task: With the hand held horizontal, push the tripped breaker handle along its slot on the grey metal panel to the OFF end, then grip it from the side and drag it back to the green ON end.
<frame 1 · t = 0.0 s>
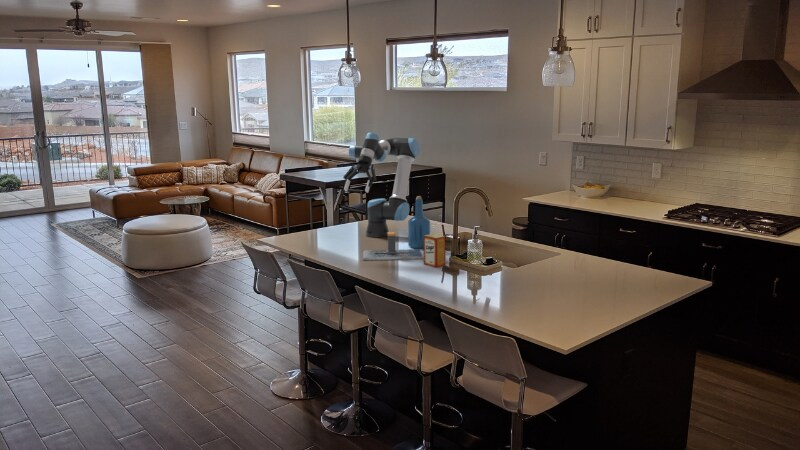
hand: (355, 191, 354), 36 cm above the countertop, tool tilted 35°, fingers open, 13 cm apart
baking soda box: (434, 265, 336), on the countertop
breaker handle: (391, 242, 354), point 8 cm above the countertop, slide at 6.0 cm
panel: (391, 255, 355), on the countertop
wine bottle: (419, 246, 377), on the countertop
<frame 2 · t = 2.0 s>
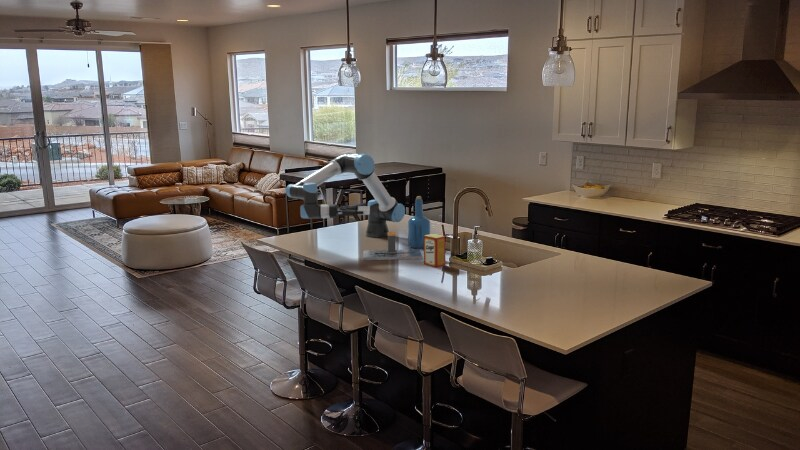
hand: (369, 210, 350), 26 cm above the countertop, tool horizontal, fingers open, 10 cm apart
nothing on the countertop moved.
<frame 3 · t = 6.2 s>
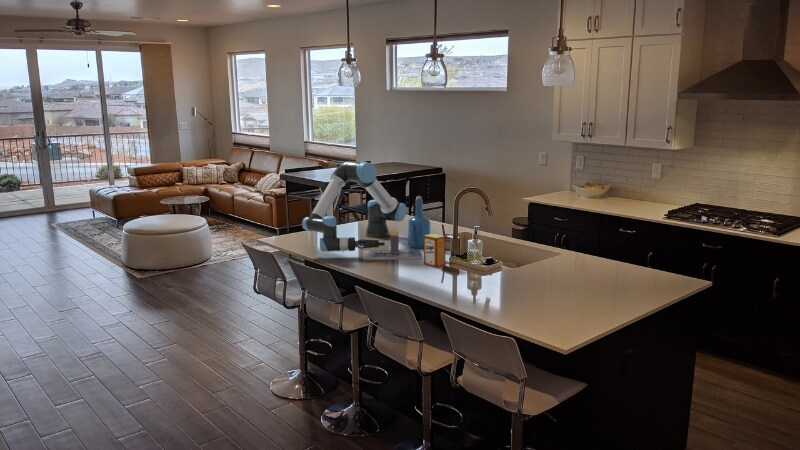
hand: (390, 243, 353), 7 cm above the countertop, tool horizontal, fingers closed
breaker handle: (394, 242, 354), point 8 cm above the countertop, slide at 7.6 cm
everything else where it was.
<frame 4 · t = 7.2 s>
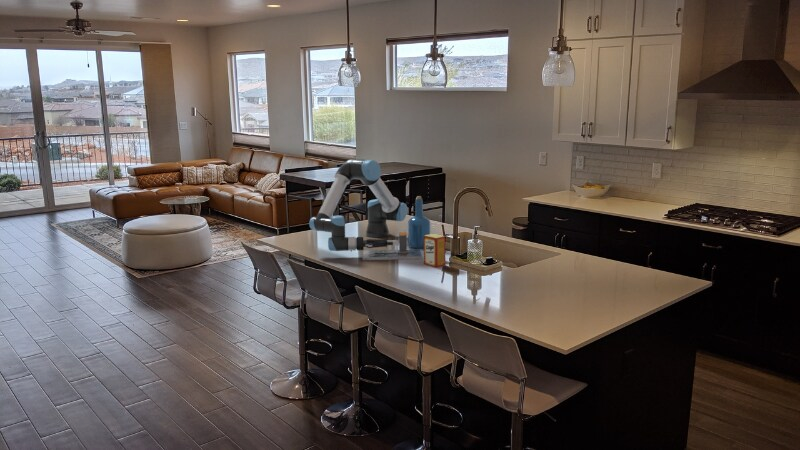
hand: (398, 242, 354), 7 cm above the countertop, tool horizontal, fingers closed
breaker handle: (402, 242, 354), point 8 cm above the countertop, slide at 12.2 cm, touching gripper
everything else where it was.
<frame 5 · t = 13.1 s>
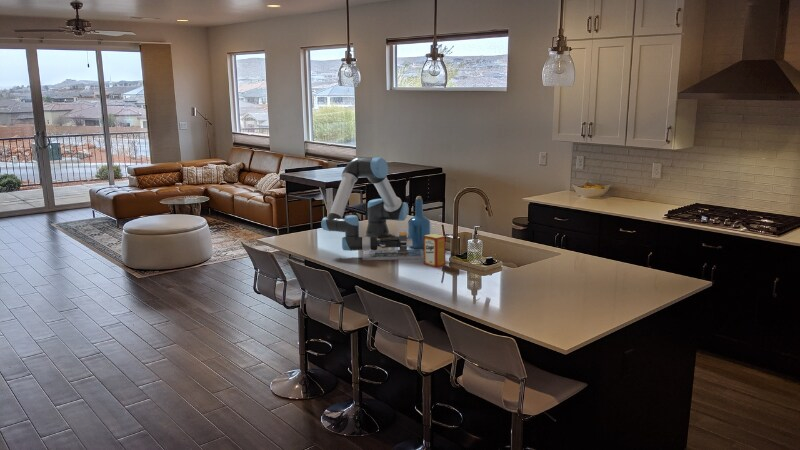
hand: (412, 242, 354), 8 cm above the countertop, tool horizontal, fingers closed on breaker handle, 4 cm apart
breaker handle: (403, 242, 354), point 8 cm above the countertop, slide at 12.3 cm, touching gripper
everything else where it was.
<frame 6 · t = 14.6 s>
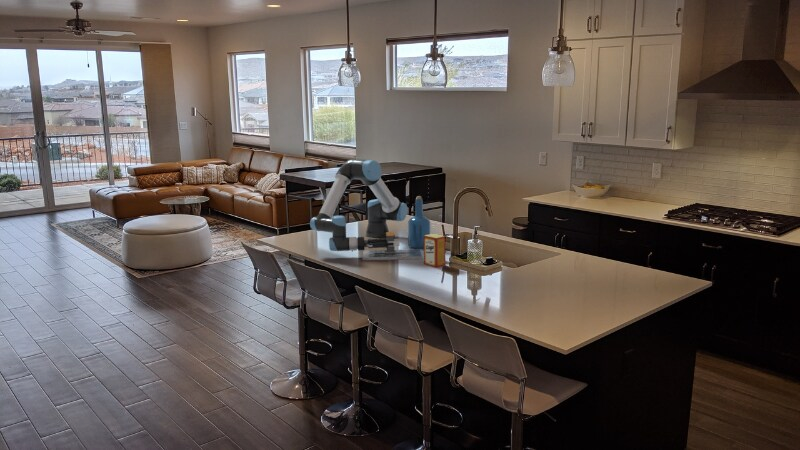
hand: (399, 242, 354), 8 cm above the countertop, tool horizontal, fingers closed on breaker handle, 4 cm apart
breaker handle: (390, 242, 354), point 8 cm above the countertop, slide at 5.3 cm, touching gripper
everything else where it was.
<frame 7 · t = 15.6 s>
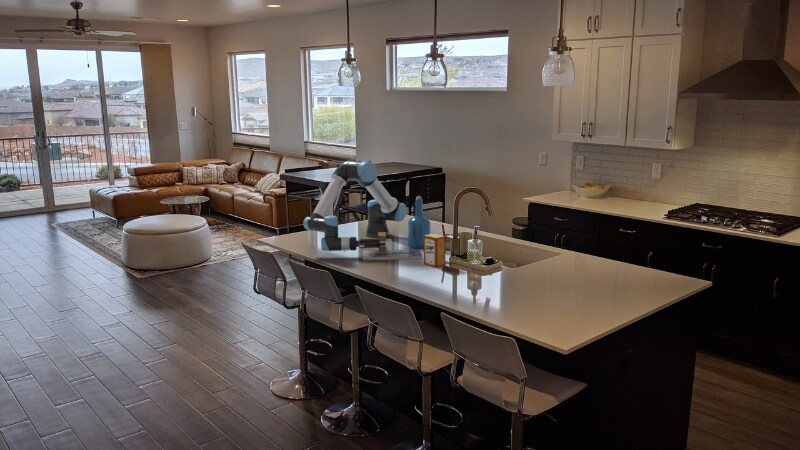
hand: (391, 242, 354), 8 cm above the countertop, tool horizontal, fingers closed on breaker handle, 4 cm apart
breaker handle: (382, 242, 354), point 8 cm above the countertop, slide at 0.9 cm, touching gripper
everything else where it was.
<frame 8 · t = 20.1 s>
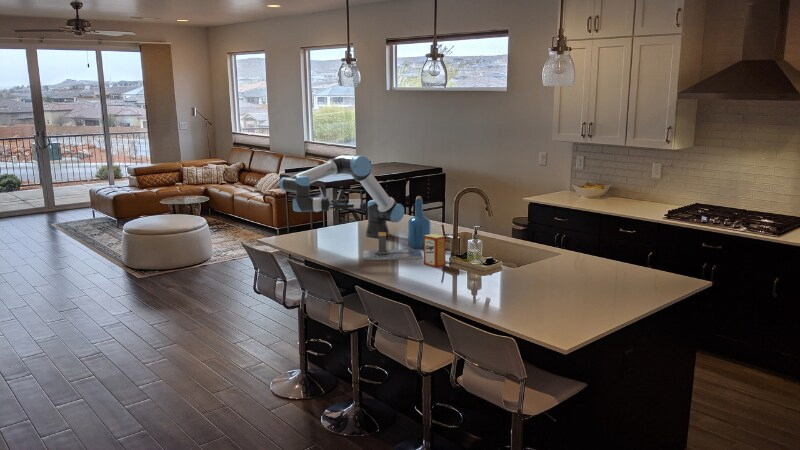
hand: (360, 203, 349), 30 cm above the countertop, tool horizontal, fingers open, 13 cm apart
breaker handle: (382, 242, 354), point 8 cm above the countertop, slide at 0.9 cm
everything else where it was.
at the end: breaker handle slide at 0.9 cm; the gripper is holding nothing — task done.
